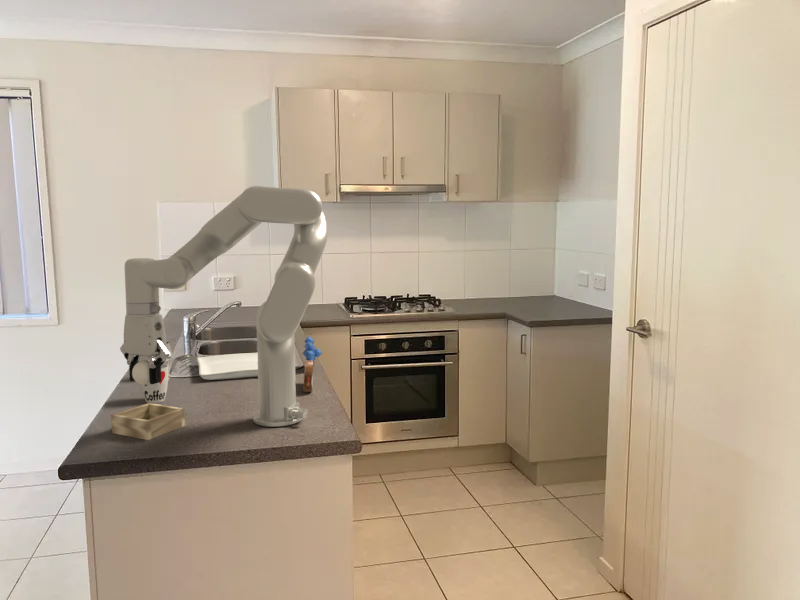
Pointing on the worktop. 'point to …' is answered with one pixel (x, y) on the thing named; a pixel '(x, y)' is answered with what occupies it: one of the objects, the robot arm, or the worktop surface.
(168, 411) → the wooden square tray
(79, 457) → the worktop surface
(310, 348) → the grapes
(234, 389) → the worktop surface
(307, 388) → the tin
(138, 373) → the ball
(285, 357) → the robot arm
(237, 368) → the square plate
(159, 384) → the cup
